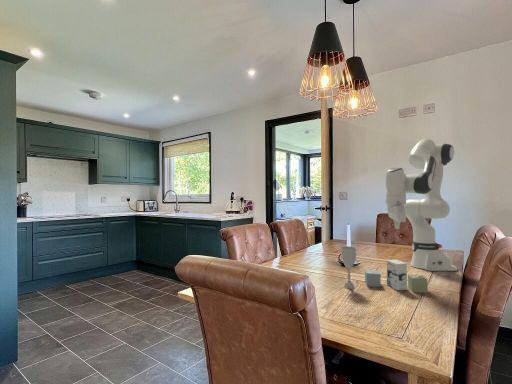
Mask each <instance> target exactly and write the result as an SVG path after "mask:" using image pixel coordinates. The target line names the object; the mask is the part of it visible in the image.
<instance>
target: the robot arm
mask: <svg viewBox="0 0 512 384" xmlns="http://www.w3.org/2000/svg"><path fill="white" fill-rule="evenodd" d="M454 155H455V149H454V146H453V145H452V144H449V143H435V141H434V140H432V139H430V138H422V139H421V140H419V141H418V142H417V143H416V144H415V145H414V146H413V147H412V149H411V150H410V152H409V154H408V158H407V159H408V161H409V164H410V166H412V167H414V168H416V169H419V170H422V172H419V173H408V174H407V173H405V171H404V168H402V167H393V168H389V169H388V170H386V175H385V188H386V193H385V204H386V207H387V215H388V218H390V219H392V221H393V227H394V229H396V230H400V227H401V223H406V222H407V221H406V220H407V219H408V221H409V222H410V224H411V227H412V236H413V237H412V239H413V240H412V244H411V247H412V258H411V262H410V266H411V267H413V268H416V269H421V270H425V271H435V272H436V271H437V272H438V271H440V272H441V271H442V272H444V271H445V272H448V271H450V272H454V271H457V270H458V269H457V266H456V265H453V263H452V259H451V257H450V256H448V254H446V253H445V252H443V251H442V250H441V249H442V248H443V245H442V244H441V243H437V242H436V230H435V227H434V226H433V225H431V224H429V223H428V222H427V220H426V219H434V220H435V219H444V218H446V217H448V215H449V214H450V211H451V210H450V205H449V203H448V202H447V201H446V200H444V199H443V198H442V195H441V188H442V182H443V179H444V178H443V177H444V167H445V166H447V165H448V163H450V162H451V161H452V160H453V158H454ZM407 194H418V195H420V194H421V195H424V196H425V197H424V198H410V199H407Z"/></svg>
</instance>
